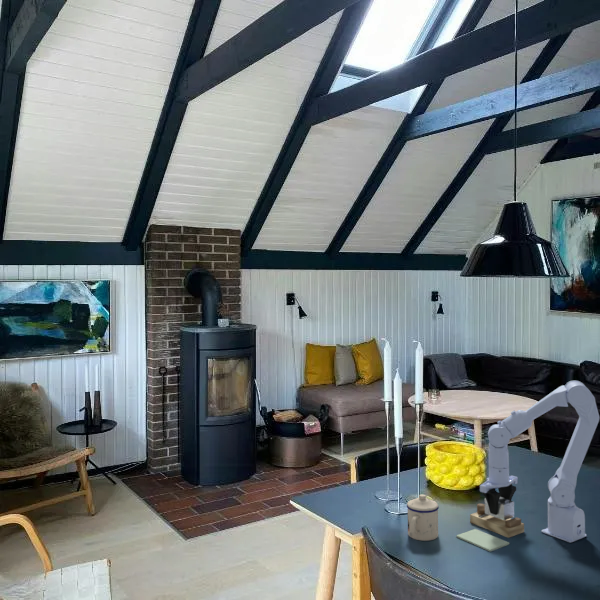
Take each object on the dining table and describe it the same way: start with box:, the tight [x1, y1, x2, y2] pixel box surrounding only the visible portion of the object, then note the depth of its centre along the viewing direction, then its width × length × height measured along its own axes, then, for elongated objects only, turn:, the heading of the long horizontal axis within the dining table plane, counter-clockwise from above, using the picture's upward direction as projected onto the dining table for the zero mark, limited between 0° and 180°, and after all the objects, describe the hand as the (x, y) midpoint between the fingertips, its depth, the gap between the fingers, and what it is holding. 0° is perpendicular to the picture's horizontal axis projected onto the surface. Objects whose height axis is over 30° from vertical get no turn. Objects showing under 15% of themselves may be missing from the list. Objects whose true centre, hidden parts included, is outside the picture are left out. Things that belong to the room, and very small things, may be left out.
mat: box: [456, 528, 510, 553], centre depth 176 cm, size 12×8×1 cm, turn 33°
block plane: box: [469, 503, 525, 539], centre depth 185 cm, size 14×7×5 cm, turn 33°
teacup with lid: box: [406, 493, 440, 542], centre depth 179 cm, size 12×9×12 cm
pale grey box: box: [484, 497, 515, 520], centre depth 184 cm, size 7×4×5 cm, turn 33°
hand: (499, 511), depth 184 cm, fingers closed on pale grey box, 4 cm apart
